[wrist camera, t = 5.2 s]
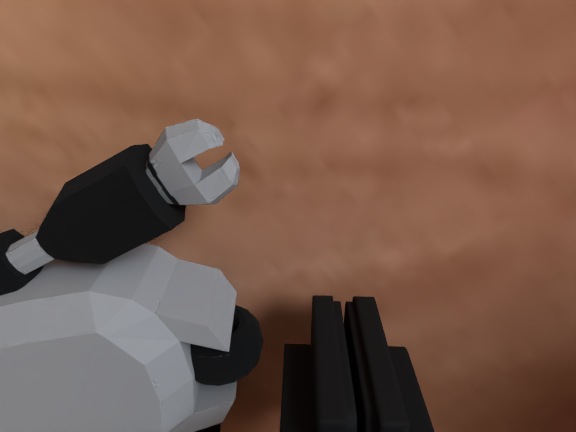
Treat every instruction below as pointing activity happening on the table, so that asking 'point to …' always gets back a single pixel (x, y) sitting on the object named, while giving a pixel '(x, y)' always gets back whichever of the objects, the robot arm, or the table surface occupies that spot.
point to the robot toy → (123, 302)
